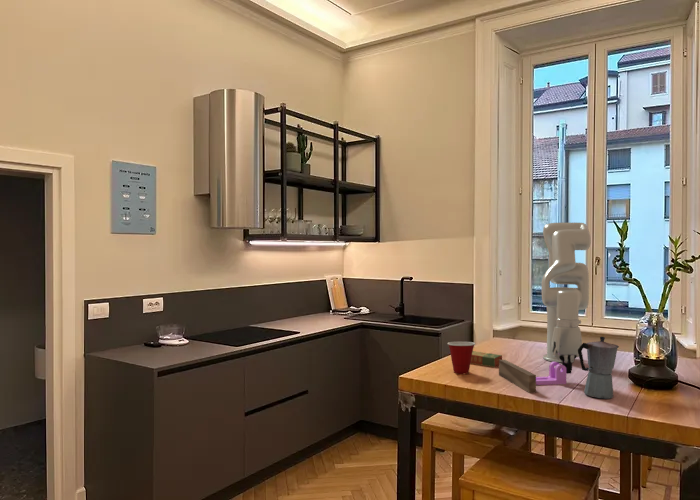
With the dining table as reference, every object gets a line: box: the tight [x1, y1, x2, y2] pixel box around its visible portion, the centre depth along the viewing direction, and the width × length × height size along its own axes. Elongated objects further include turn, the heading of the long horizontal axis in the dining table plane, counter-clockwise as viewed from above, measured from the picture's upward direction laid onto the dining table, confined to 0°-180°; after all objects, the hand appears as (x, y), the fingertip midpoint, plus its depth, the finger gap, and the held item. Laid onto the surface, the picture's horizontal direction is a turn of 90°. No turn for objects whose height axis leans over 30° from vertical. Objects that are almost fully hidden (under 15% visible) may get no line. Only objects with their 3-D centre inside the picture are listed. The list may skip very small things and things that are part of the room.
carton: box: [470, 350, 503, 368], centre depth 229 cm, size 8×16×4 cm, turn 53°
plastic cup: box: [447, 341, 476, 375], centre depth 213 cm, size 11×11×12 cm
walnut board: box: [498, 359, 537, 394], centre depth 196 cm, size 2×24×6 cm, turn 9°
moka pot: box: [578, 336, 620, 400], centre depth 181 cm, size 10×15×20 cm, turn 106°
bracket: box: [536, 361, 567, 386], centre depth 198 cm, size 13×6×7 cm, turn 97°
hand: (567, 372), depth 200 cm, fingers closed
